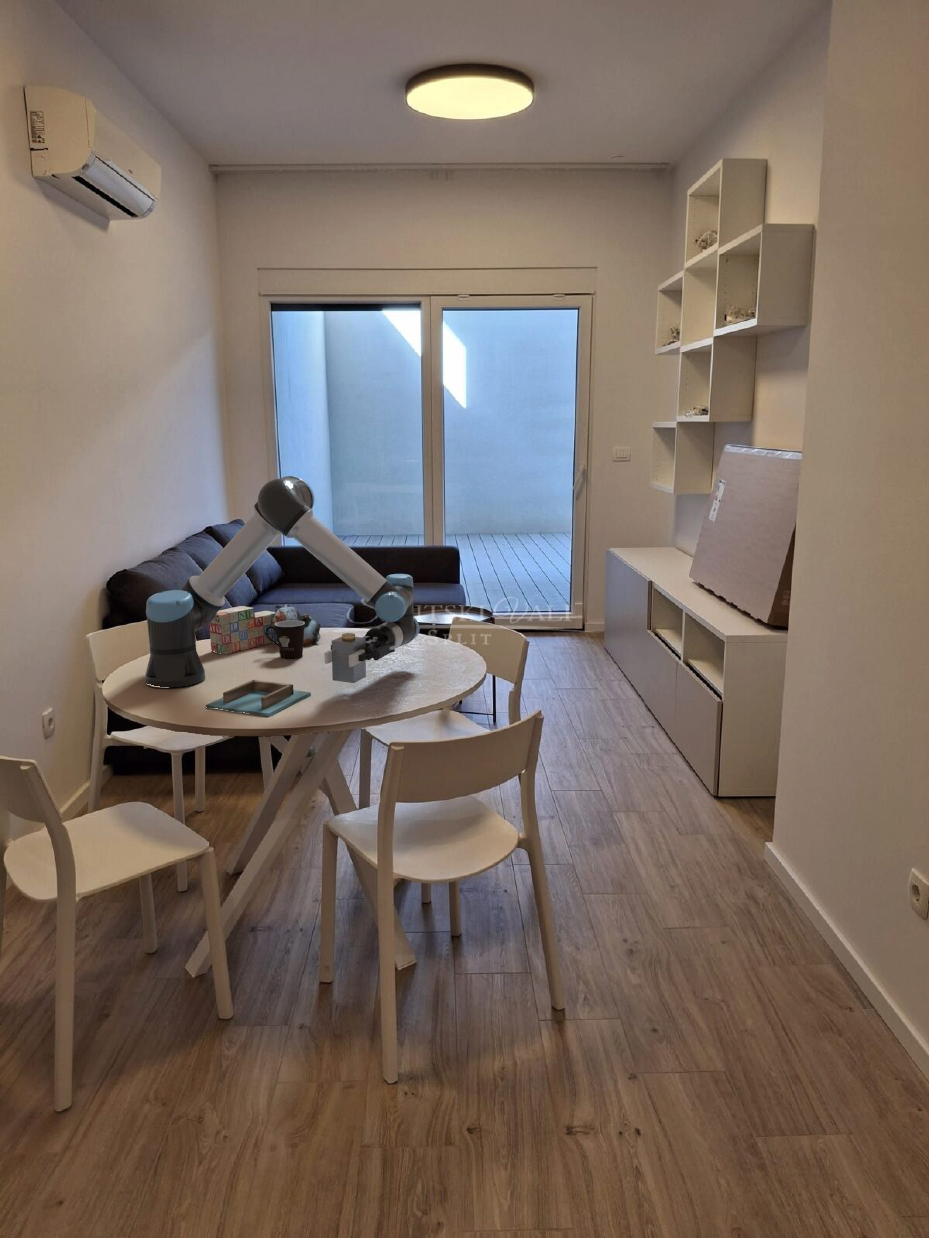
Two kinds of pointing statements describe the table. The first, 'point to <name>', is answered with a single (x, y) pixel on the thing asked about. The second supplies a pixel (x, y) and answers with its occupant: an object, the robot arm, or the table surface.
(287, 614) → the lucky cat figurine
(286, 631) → the coffee mug
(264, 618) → the stack of blocks
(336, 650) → the grey block with knob
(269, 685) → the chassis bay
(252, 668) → the table surface
